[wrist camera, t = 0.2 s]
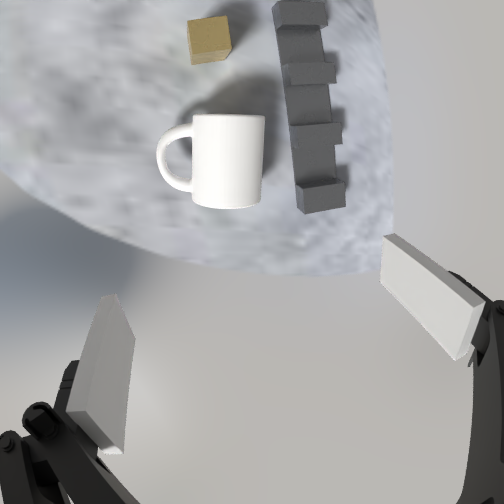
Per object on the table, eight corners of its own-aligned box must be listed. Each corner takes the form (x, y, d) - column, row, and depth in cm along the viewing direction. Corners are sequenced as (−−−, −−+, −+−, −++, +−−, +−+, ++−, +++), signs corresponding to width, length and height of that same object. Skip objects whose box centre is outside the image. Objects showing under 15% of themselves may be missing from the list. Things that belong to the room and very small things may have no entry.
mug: (256, 115, 36) (273, 116, 29) (252, 191, 40) (267, 209, 33) (160, 115, 34) (152, 115, 27) (160, 193, 38) (154, 211, 31)
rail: (271, 8, 30) (278, 1, 27) (314, 9, 31) (323, 2, 28) (297, 207, 42) (304, 214, 40) (336, 200, 43) (345, 206, 40)
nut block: (187, 36, 30) (187, 20, 24) (219, 31, 31) (226, 15, 24) (191, 65, 32) (192, 54, 26) (224, 60, 32) (231, 48, 26)
